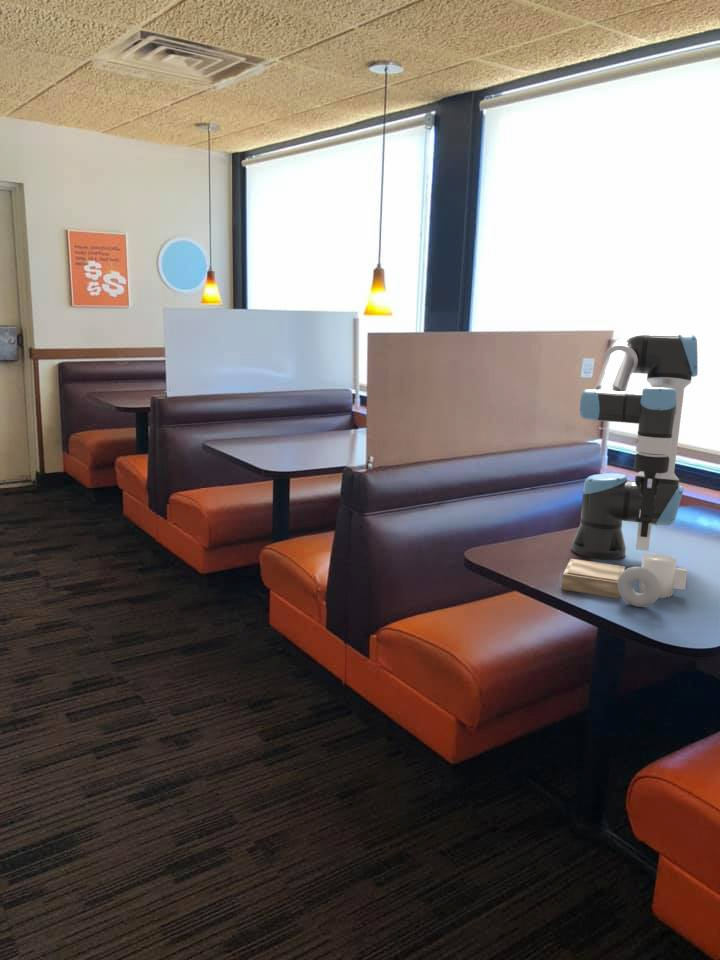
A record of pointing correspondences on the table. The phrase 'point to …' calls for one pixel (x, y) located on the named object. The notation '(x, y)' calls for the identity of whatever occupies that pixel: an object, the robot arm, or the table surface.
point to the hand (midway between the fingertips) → (642, 543)
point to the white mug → (664, 573)
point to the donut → (644, 576)
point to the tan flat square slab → (592, 578)
